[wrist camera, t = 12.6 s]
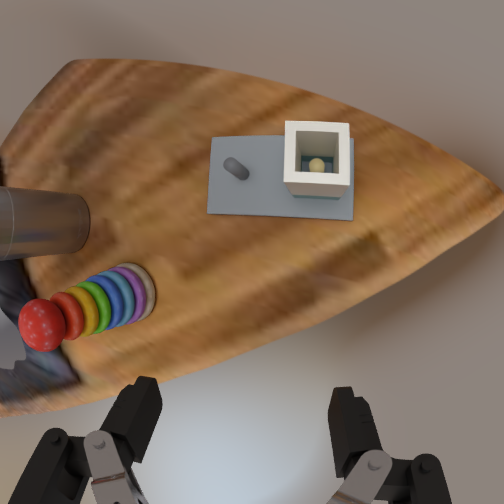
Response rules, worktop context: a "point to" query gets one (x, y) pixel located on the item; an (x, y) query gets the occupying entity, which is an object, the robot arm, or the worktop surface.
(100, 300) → the stacking toy
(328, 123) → the sleeve
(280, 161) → the pin board
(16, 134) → the worktop surface
